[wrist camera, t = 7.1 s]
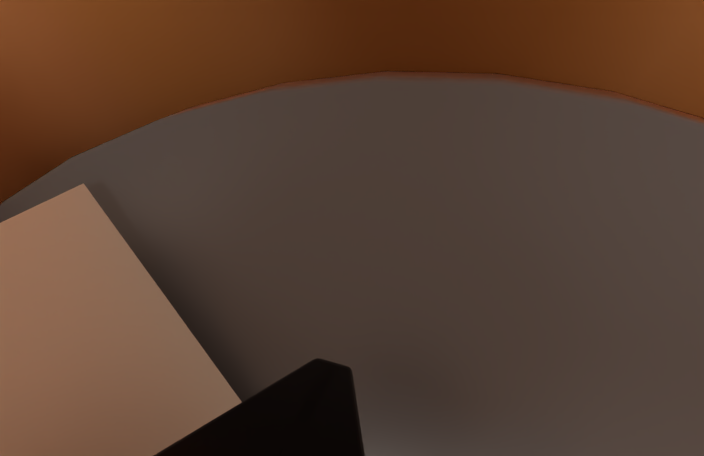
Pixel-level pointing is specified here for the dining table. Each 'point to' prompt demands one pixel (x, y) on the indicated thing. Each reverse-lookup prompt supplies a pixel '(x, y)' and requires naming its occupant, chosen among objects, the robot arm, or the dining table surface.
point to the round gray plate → (432, 254)
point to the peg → (92, 342)
